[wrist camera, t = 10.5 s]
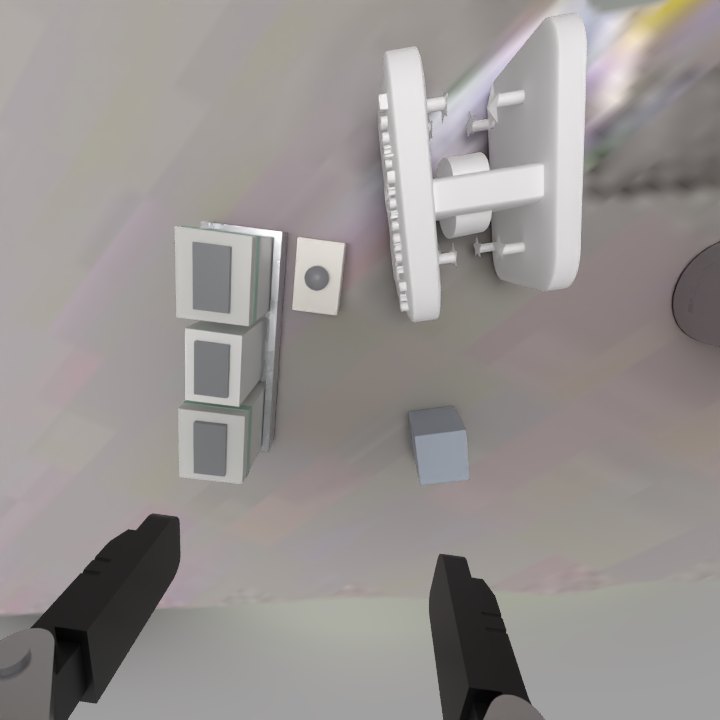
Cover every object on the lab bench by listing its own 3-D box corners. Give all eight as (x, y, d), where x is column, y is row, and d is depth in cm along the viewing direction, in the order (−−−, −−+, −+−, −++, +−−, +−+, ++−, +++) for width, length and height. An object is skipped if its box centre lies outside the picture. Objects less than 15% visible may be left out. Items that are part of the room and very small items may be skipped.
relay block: (452, 405, 37) (466, 429, 32) (456, 450, 38) (469, 479, 34) (408, 411, 37) (414, 436, 32) (413, 455, 39) (420, 485, 34)
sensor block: (346, 243, 32) (344, 243, 28) (339, 307, 34) (335, 317, 29) (305, 237, 32) (295, 236, 28) (300, 302, 34) (289, 311, 29)
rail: (287, 232, 32) (281, 232, 30) (273, 439, 38) (268, 451, 36) (212, 222, 32) (201, 221, 30) (210, 431, 38) (200, 443, 36)
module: (266, 316, 33) (240, 337, 26) (263, 375, 35) (237, 409, 28) (221, 310, 33) (182, 329, 26) (219, 369, 35) (182, 402, 28)
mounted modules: (276, 237, 31) (251, 235, 24) (264, 440, 37) (241, 487, 30) (214, 228, 31) (171, 224, 24) (212, 434, 37) (176, 480, 30)
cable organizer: (510, 284, 33) (583, 305, 22) (391, 301, 34) (405, 330, 23) (506, 88, 29) (594, -7, 18) (369, 111, 29) (373, 32, 18)
